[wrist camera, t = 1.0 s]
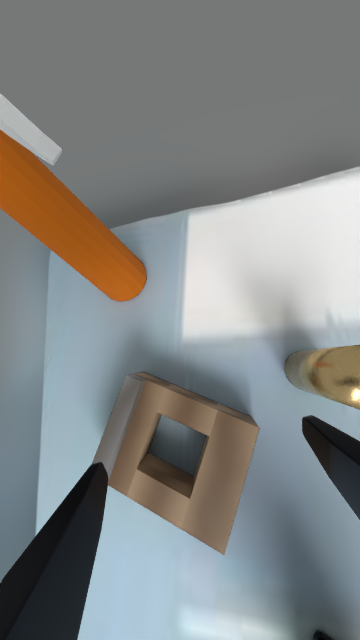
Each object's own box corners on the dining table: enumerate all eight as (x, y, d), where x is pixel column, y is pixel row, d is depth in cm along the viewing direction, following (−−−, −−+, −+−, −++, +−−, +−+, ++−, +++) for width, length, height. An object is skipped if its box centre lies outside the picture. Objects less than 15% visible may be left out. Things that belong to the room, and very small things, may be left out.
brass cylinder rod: (331, 358, 21) (413, 357, 12) (322, 397, 20) (402, 424, 12) (290, 345, 22) (339, 336, 13) (280, 381, 22) (325, 396, 13)
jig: (252, 417, 21) (263, 434, 16) (222, 521, 20) (225, 574, 15) (143, 371, 24) (126, 375, 20) (110, 458, 23) (83, 485, 18)
